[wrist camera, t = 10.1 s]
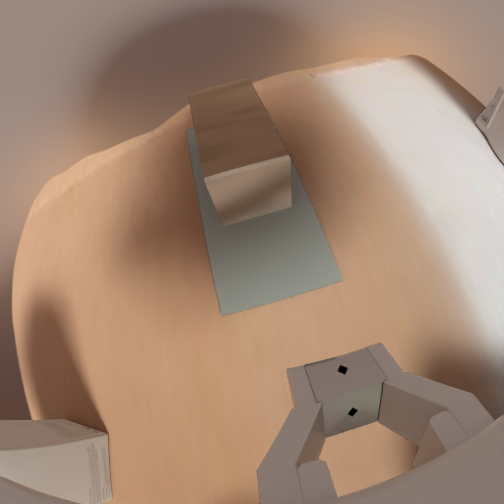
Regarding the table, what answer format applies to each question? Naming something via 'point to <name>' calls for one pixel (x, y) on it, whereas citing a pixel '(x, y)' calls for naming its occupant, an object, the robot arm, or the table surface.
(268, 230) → the mat
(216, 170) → the block
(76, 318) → the table surface
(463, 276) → the table surface
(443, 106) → the table surface
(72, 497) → the skincare box
